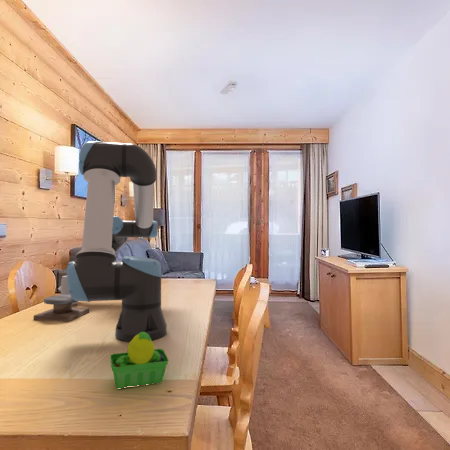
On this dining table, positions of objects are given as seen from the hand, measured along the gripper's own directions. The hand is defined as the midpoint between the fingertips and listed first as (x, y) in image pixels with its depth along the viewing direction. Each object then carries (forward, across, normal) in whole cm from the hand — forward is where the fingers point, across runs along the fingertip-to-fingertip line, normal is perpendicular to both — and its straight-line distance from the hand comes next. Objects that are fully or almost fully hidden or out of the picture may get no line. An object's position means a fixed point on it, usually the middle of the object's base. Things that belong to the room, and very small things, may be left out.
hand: (66, 293), depth 136 cm
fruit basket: (+15, -80, +8) cm, 82 cm away
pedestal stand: (+9, -16, +2) cm, 18 cm away
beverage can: (+3, 0, -4) cm, 5 cm away
